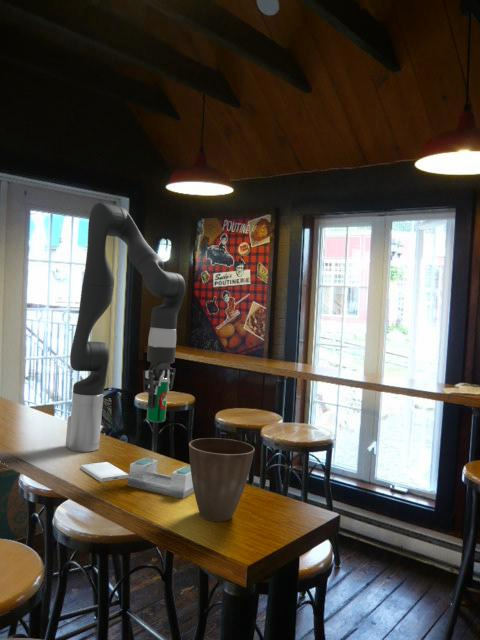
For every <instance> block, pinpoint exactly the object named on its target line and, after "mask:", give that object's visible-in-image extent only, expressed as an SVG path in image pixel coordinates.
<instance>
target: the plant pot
mask: <svg viewBox="0 0 480 640" xmlns="http://www.w3.org/2000/svg"><path fill="white" fill-rule="evenodd" d="M188 448H189V449H188V450H189V451H188V452H189V455H188V456H189V467H190V468H191V476H192V483H193V488H194V492H193V494H194V498H195V501H196V505H197V509H198V513H199V515H200V517H201V518H202V519H205V520H207V521H211V522H224V521H225V522H226V521H228V520H231V519H232V518H233V516H234V515H235V512H236V510H237V508H238V506H239V503H240V500H241V498H242V495H243V493H244V490H245V488H246V484H247V480H248V478H249V475H250V471H251V467H252V464H253V463H252V462H253V457H254V453H255V447H254V446H253V445H251V444H249V443H247V442H244V441H241V440H235V439H229V438H221V437H220V438H219V437H217V438H216V437H207V438H205V437H204V438H197V439H193V440H191V441H190V442H189V443H188Z"/></svg>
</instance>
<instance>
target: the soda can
mask: <svg viewBox="0 0 480 640" xmlns="http://www.w3.org/2000/svg"><path fill="white" fill-rule="evenodd" d="M154 382H155V383H157V382H158V381H154ZM154 388H155V386H154ZM168 393H169V392H168V380H167V378H163V379H162V382H161V386H160V387H159V388H158V391H157V394H156V395H157V401H156V408H154V409H152V408H148V407H147V408H146V409H147V410H146V411H147V412H146V420H147V421H148V422H150V423H157V424H158V423H163V422H165V421H166V414H167V403H168Z"/></svg>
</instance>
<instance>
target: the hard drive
mask: <svg viewBox="0 0 480 640" xmlns="http://www.w3.org/2000/svg"><path fill="white" fill-rule="evenodd" d="M80 470H82V471H83V472H85V474H87V475H89V476H91V477H92V478H94V479H95V480H97V481H98V482H100V483H103V482H104V483H105V482H111V481H118V480H125V479H128V477H129V473H127V472H125V471H124V470H122V469H120V468H119V467H117V466H115V465H113V464H112V463H110V462H109V461H104V462H95V463H89V464H88V463H87V464H82V465H80Z"/></svg>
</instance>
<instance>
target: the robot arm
mask: <svg viewBox="0 0 480 640" xmlns="http://www.w3.org/2000/svg"><path fill="white" fill-rule="evenodd" d="M87 227H88V228H87V246H86V247H87V250H86V259H85V267H84V273H83V279H82V285H81V292H80V301H79V310H78V316H77V322H76V326H75V329H74V330H75V331H74V335H73V339H72V345H71V349H70V355H69V356H70V357H69V362H70V364H69V365H70V366H71V369H72V370H73V371H75V372H90V374H89V375H87V376H86V377H85V378H83V379H82V380H79V381H76V382H75V383H73V386H72V397H71V399H72V400H71V409H70V415H69V416H68V417H67V422H66V423H67V426H66V433H65V434H66V435H65V448H68V449H69V450H70V451H74V452H83V453H84V452H85V453H87V452H94V451H95V452H96V451H97V450H99V448H100V440H101V439H100V438H101V426H102V416H103V406H104V405H103V404H104V392H105V391H104V390H105V387H106V384H107V383H106V382H107V375H108V374H107V373H108V367H109V361H110V359H109V358H110V351H109V346H108V345H107V343H105V342H103V341H89V338H90V336H91V332H92V330H93V328H94V326H95V325H96V323H97V322H98V321H99V319H100V318H101V317H102V316H103V315H104V314H105V312H106V311H107V310H108V308H109V306H110V305H111V304H112V300H113V295H114V293H113V292H114V288H115V287H114V286H115V277H114V274H113V271H112V267H111V265H110V263H109V260H108V257H107V251H106V245H107V236H110V237H117V238H119V239H120V240H122V241H123V242H124V243H125V244H126V246H127V255H128V258H129V261H130V262H131V264H132V265H133V267H135V269H136V270H137V271H138V272H139V273H140V274H141V276H142V279H143V282H144V284H145V287H146V288H147V290H148V292H150V293H151V294H152V295H153V296H155V297H158V298H163V300H162V303H161V304H160V305H156V306H154V307H152V309H151V316H150V317H151V318H150V328H149V332H148V333H149V334H148V343H147V355H146V360H147V362H149V363H150V366H149V368H148V370H143V371H142V386H143V392H144V393H147V395H148V397H147V409H148V408H152V409H154V408H156V401H157V395H156V394H157V391H158V388H159V387H160V386H161V382H162V379H163V378H167V380H168V393H169V392H170V390H173V386H174V381H175V375H176V370H177V369H176V367H175V368H173V367H171V364H173V363H175V361H176V346H177V324H178V314H179V311H180V309H181V306H182V303H183V300H184V297H185V295H186V294H185V293H186V286H187V285H186V281H185V278H184V276H182V275H181V274H180V273H177V272H170V271H165V270H164V268H165V265H164V261H163V259H162V258H161V257H160V256H159V255H158V254H157V253H156V252H155V250H154V249H153V248H152V247H151V246H150V245H149V244H148V242H147V240H145V238H144V236H143V234H142V232H141V231H140V230H139V228H138V226H137V224H136V223H135V221H134V220H133V217H132V216H131V215H130V213H129V212H128V210H127V209H126V208H124V207H122V206H119V205H116V204H115V205H114V204H111V203H105V202H97V203H95V204H94V205H93V206H92V208H91V210H90V212H89V217H88V226H87ZM154 381H158V382H157V383H155V382H154ZM154 386H155V388H154Z"/></svg>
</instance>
